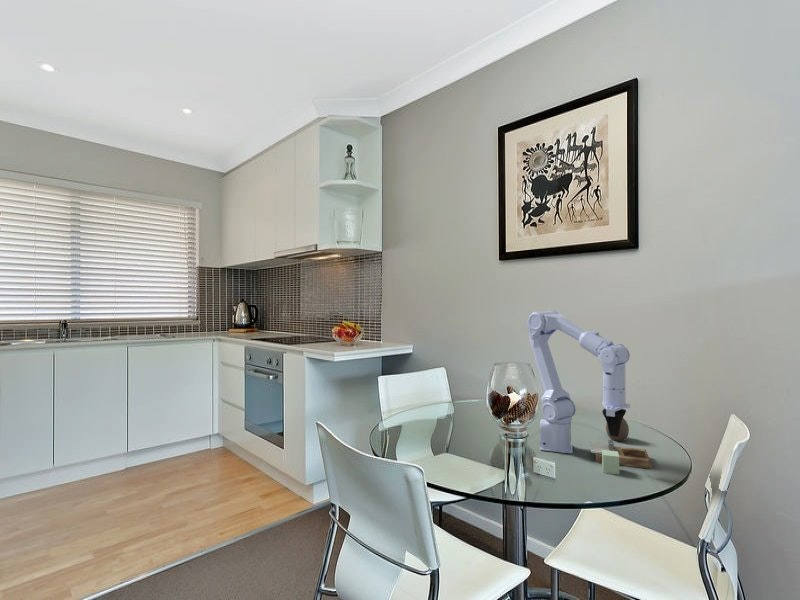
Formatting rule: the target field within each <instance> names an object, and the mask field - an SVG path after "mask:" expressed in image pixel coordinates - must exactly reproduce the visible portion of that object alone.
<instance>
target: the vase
mask: <svg viewBox="0 0 800 600" xmlns="http://www.w3.org/2000/svg"><path fill="white" fill-rule="evenodd" d="M629 428H630V427H629V424H628V422H627V420H626V419H625V418H624V417H623V419H622V422H621V427H620V432H619V435H618V437H617V436H611V435H610V434H609V430H608V425H607V422H606V424H605V432H606V434H607V436H608V437H609V438H610V440H613V441H615V442H623V441H625V440H626V439H627V438H628V437H629V433H630V429H629Z"/></svg>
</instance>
